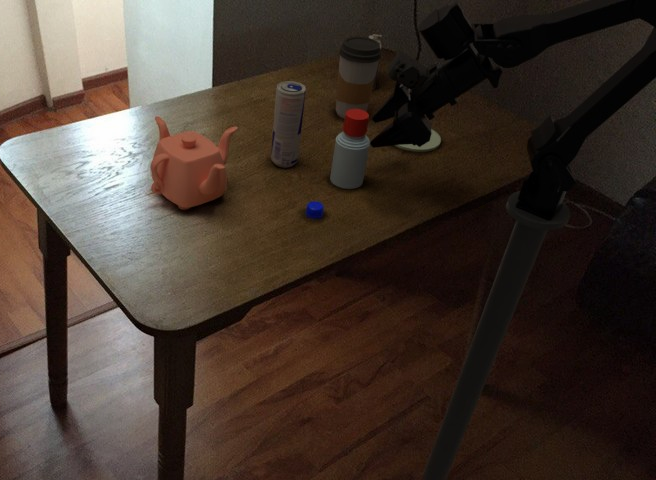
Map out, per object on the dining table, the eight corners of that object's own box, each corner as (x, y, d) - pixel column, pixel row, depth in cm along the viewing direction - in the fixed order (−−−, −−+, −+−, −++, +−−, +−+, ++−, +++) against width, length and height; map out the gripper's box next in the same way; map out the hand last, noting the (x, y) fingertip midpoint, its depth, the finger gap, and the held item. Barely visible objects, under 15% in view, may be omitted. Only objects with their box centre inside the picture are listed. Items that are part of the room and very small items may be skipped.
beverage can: (300, 158, 133) (309, 83, 123) (293, 171, 129) (301, 94, 119) (275, 153, 134) (281, 77, 124) (266, 165, 130) (272, 89, 120)
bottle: (369, 180, 129) (381, 117, 120) (351, 192, 125) (362, 128, 117) (341, 168, 131) (351, 105, 123) (323, 180, 128) (332, 116, 119)
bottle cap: (313, 220, 118) (314, 212, 117) (302, 212, 120) (303, 203, 118) (326, 215, 119) (328, 206, 118) (315, 206, 121) (316, 198, 120)
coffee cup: (372, 124, 145) (385, 53, 136) (332, 121, 145) (342, 50, 135) (368, 106, 152) (380, 36, 142) (329, 103, 151) (339, 34, 142)
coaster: (449, 138, 143) (450, 135, 142) (423, 158, 136) (424, 155, 136) (402, 120, 148) (403, 117, 147) (375, 138, 141) (375, 135, 140)
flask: (361, 72, 165) (369, 26, 158) (373, 73, 165) (382, 27, 158) (364, 89, 158) (372, 42, 151) (377, 90, 158) (385, 43, 151)
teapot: (157, 168, 127) (155, 112, 120) (235, 177, 127) (238, 121, 119) (137, 212, 116) (133, 153, 109) (222, 223, 116) (224, 164, 108)
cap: (370, 131, 122) (373, 114, 120) (358, 139, 120) (361, 122, 118) (351, 124, 124) (353, 106, 122) (338, 131, 121) (341, 114, 119)
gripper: (423, 19, 117) (347, 74, 125) (426, 63, 103) (340, 122, 111) (459, 71, 121) (383, 121, 130) (466, 119, 108) (381, 172, 116)
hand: (372, 132), depth 121 cm, fingers open, 9 cm apart
